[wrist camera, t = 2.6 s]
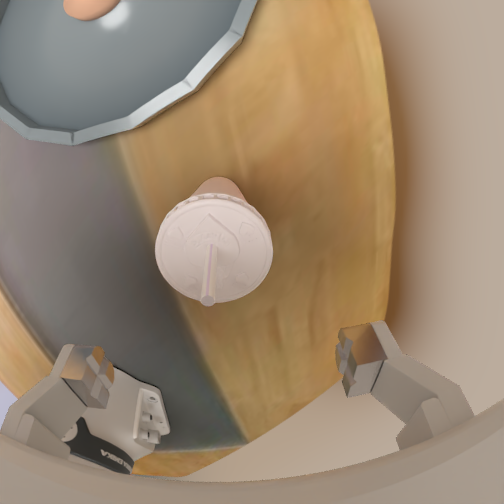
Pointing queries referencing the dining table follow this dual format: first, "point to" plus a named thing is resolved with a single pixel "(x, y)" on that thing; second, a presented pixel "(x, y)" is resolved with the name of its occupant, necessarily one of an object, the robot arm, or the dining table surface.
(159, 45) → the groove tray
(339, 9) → the dining table surface
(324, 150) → the dining table surface
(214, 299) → the smoothie
